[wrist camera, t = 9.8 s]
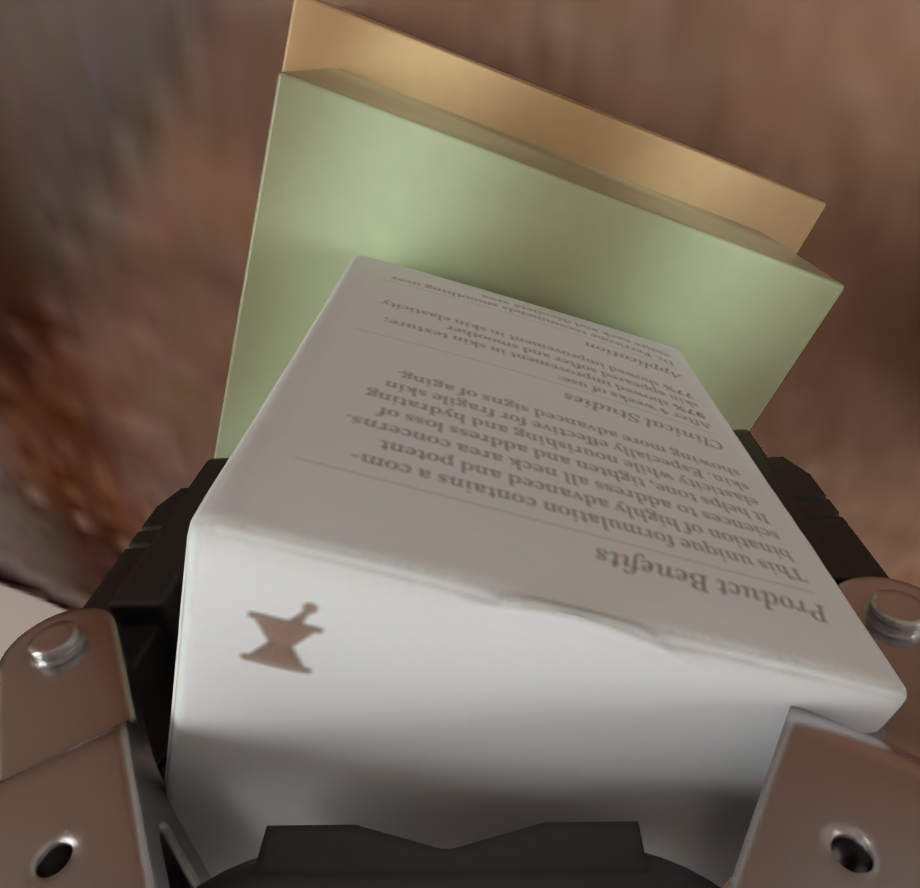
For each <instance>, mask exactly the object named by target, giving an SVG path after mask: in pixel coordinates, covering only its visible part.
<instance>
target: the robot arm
mask: <svg viewBox="0 0 920 888" xmlns="http://www.w3.org/2000/svg"><path fill="white" fill-rule="evenodd" d="M733 432H734V433H735V435H736V436H737V438H738V439H739V440H740V442H741V443H742V445H743V446H744V448H745V449H746V451H747V452H748V454H749V455H750V457H751V458H752V460H753V461H754V463H755V464H756V466H757V467H758V469H759V470H760V472H761V473H762V475H763V476H764V478H765V480H766V481H767V483H768V484H769V486H770V487H771V488H772V490H773V491H774V492H775V493H776V495H777V496H778V498H779V500H780V501H781V503H782V504H783V506H784V507H785V509H786V510H787V511H788V513H789V514H790V515H791V517H792V518H793V520H794V521H795V523H796V524H797V526H798V528H799V529H800V531H801V532H802V533H803V534H804V536H805V537H806V539H807V540H808V542H809V543H810V545H811V546H812V547H813V549H814V550H815V552H816V554H817V555H818V557H819V558H820V560H821V561H822V563H823V565H824V566H825V568H826V569H827V571H828V572H829V574H830V575H831V576H832V578H833V579H834V581H835V582H836V584H837V585H838V587H839V588H840V590H841V591H842V593H843V595H844V596H845V598H846V599H847V601H848V602H849V604H850V605H851V607H852V608H853V610H854V611H855V613H856V614H857V616H858V617H859V619H860V620H861V622H862V623H863V625H864V626H865V628H866V629H867V631H868V632H869V634H870V635H871V637H872V638H873V640H874V641H875V643H876V644H877V646H878V647H879V648H880V650H881V651H882V653H883V654H884V656H885V657H886V659H887V660H888V662H889V663H890V665H891V666H892V668H893V669H894V671H895V672H896V674H897V675H898V677H899V679H900V680H901V682H902V683H903V685H904V686H905V688H906V692H907V698H906V700H905V701H904V703H903V704H902V706H901V707H900V708H899V709H898V710H897V711H896V712H895V714H894V715H893V716H892V717H891V718H890V719H889V720H888V721H887V723H886V724H885V725H884V726H883V727H882V728H881V729H879V730H878V731H876V732H872V733H862V732H860V731H857V730H855V729H853V728H850V727H848V726H845V725H843V724H841V723H838V722H836V721H834V720H831V719H829V718H827V717H824V716H822V715H819V714H817V713H815V712H812V711H809V710H806V709H803V708H800V707H795V706H790V708H789V711H788V714H787V716H786V719H785V722H784V725H783V728H782V731H781V734H780V737H779V740H778V743H777V746H776V749H775V752H774V755H773V758H772V760H771V763H770V766H769V769H768V772H767V775H766V778H765V781H764V784H763V787H762V790H761V793H760V796H759V799H758V802H757V805H756V808H755V811H754V814H753V816H752V819H751V822H750V825H749V828H748V831H747V834H746V837H745V840H744V843H743V846H742V849H741V852H740V855H739V858H738V861H737V864H736V867H735V869H734V872H733V875H732V878H731V881H730V884H729V887H728V888H920V588H919V587H917V586H914V585H911V584H908V583H906V582H902V581H898V580H894V579H890V578H889V577H888V576H887V575H886V573H885V572H884V571H883V569H882V568H881V567H880V565H879V564H878V563H877V562H876V560H875V559H874V558H873V556H872V555H871V554H870V552H869V551H868V550H867V548H866V547H865V546H864V545H863V543H862V542H861V541H860V539H859V538H858V537H857V535H856V534H855V533H854V531H853V530H852V529H851V528H850V526H849V525H848V524H847V522H846V521H845V520H844V518H843V517H839V512H838V511H837V509H836V508H835V507H834V505H833V504H832V503H831V501H830V500H829V499H826V495H825V494H824V492H823V491H822V490H821V488H820V487H819V486H818V484H817V483H816V482H815V481H814V479H813V478H812V477H811V475H810V474H809V473H807V472H805V471H804V470H802V469H801V468H799V467H798V466H796V465H794V464H793V463H791V462H790V461H788V460H786V459H785V458H783V457H772V458H767V456H766V455H765V453H764V452H763V451H762V449H761V448H760V446H759V445H758V443H757V442H756V440H755V439H754V438H753V436H752V435H751V433H750V432H749V431H748V430H747V429H736V430H733ZM228 459H229V458H216V459H210V460H208V461H207V462H206V464H205V465H204V467H203V468H202V469H201V471H200V472H199V474H198V475H197V477H196V478H195V480H194V481H193V482H192V484H191V485H190V487H189V488H181V489H180V490H179V491H177V492H176V493H175V494H173V495H172V496H171V497H169V498H168V499H167V500H165V501H164V502H163V503H161V504H160V505H159V506H158V507H156V509H155V510H154V512H153V513H152V514H151V516H150V517H149V518H148V520H147V521H146V522H145V524H144V525H143V527H142V532H138V533H137V535H136V536H135V537H134V539H133V540H132V542H131V543H130V544H129V549H126V550H125V551H124V552H123V554H122V555H121V557H120V558H119V559H118V561H117V562H116V563H115V565H114V566H113V567H112V569H111V570H110V572H109V573H108V574H107V576H106V577H105V578H104V580H103V581H102V582H101V584H100V585H99V587H98V588H97V589H96V591H95V592H94V593H93V595H92V596H91V597H90V599H89V600H88V602H87V603H86V604H85V606H84V607H83V608H79V609H73V610H69V611H65V612H63V613H60V614H57V615H54V616H52V617H50V618H48V619H46V620H44V621H42V622H40V623H38V624H37V625H35V626H34V627H32V628H31V629H29V630H28V631H26V632H25V633H24V634H23V635H21V636H20V637H19V638H18V639H17V640H16V641H15V642H14V643H13V644H12V645H11V646H10V647H9V648H8V650H7V651H6V652H5V654H4V655H3V657H2V659H1V660H0V888H720V887H719V886H717V885H716V884H715V883H713V882H712V881H710V880H709V879H707V878H705V877H703V876H701V875H699V874H697V873H695V872H694V871H692V870H690V869H688V868H686V867H684V866H682V865H679V864H677V863H674V862H672V861H669V860H667V859H664V858H662V857H658V856H655V855H651V854H648V853H644V848H643V843H642V838H641V833H640V827H639V822H638V821H620V822H543V823H540V824H537V825H533V826H530V827H526V828H523V829H519V830H516V831H512V832H509V833H505V834H502V835H498V836H495V837H491V838H488V839H484V840H481V841H477V842H474V843H471V844H467V845H464V846H460V847H456V848H451V849H442V848H437V847H433V846H430V845H426V844H423V843H419V842H415V841H412V840H408V839H405V838H401V837H398V836H394V835H390V834H387V833H383V832H380V831H376V830H373V829H369V828H365V827H362V826H358V825H274V826H267V827H266V830H265V834H264V837H263V840H262V844H261V847H260V851H259V854H258V858H255V859H252V860H249V861H246V862H244V863H241V864H239V865H237V866H234V867H232V868H229V869H227V870H225V871H223V872H221V873H219V874H218V875H216V876H214V877H212V878H211V876H210V874H209V872H208V871H207V869H206V867H205V865H204V864H203V862H202V860H201V858H200V856H199V855H198V853H197V851H196V849H195V848H194V846H193V844H192V842H191V840H190V839H189V837H188V835H187V833H186V831H185V830H184V828H183V826H182V824H181V823H180V821H179V819H178V817H177V815H176V814H175V812H174V810H173V808H172V806H171V804H170V802H169V800H168V797H167V794H166V789H165V784H164V780H165V769H166V758H167V748H168V738H169V728H170V718H171V707H172V696H173V684H174V673H175V662H176V652H177V642H178V629H179V617H180V606H181V596H182V585H183V575H184V564H185V554H186V544H187V535H188V530H189V526H190V522H191V520H192V518H193V516H194V514H195V513H196V511H197V509H198V508H199V506H200V504H201V502H202V501H203V499H204V497H205V496H206V494H207V492H208V491H209V489H210V488H211V486H212V484H213V483H214V481H215V480H216V478H217V477H218V475H219V474H220V472H221V470H222V469H223V467H224V466H225V464H226V463H227V461H228Z"/></svg>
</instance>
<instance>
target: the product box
mask: <svg viewBox="0 0 920 888" xmlns="http://www.w3.org/2000/svg"><path fill="white" fill-rule="evenodd" d="M906 698H907V692H906V688H905V686H904V685H903V683H902V682H901V680H900V679H899V677H898V675H897V674H896V672H895V671H894V669H893V668H892V666H891V665H890V663H889V662H888V660H887V659H886V657H885V656H884V654H883V653H882V651H881V650H880V648H879V647H878V646H877V644H876V643H875V641H874V640H873V638H872V637H871V635H870V634H869V632H868V631H867V629H866V628H865V626H864V625H863V623H862V622H861V620H860V619H859V617H858V616H857V614H856V613H855V611H854V610H853V608H852V607H851V605H850V604H849V602H848V601H847V599H846V598H845V596H844V595H843V593H842V591H841V590H840V588H839V587H838V585H837V584H836V582H835V581H834V579H833V578H832V576H831V575H830V574H829V572H828V571H827V569H826V568H825V566H824V565H823V563H822V561H821V560H820V558H819V557H818V555H817V554H816V552H815V550H814V549H813V547H812V546H811V545H810V543H809V542H808V540H807V539H806V537H805V536H804V534H803V533H802V532H801V531H800V529H799V528H798V526H797V524H796V523H795V521H794V520H793V518H792V517H791V515H790V514H789V513H788V511H787V510H786V509H785V507H784V506H783V504H782V503H781V501H780V500H779V498H778V496H777V495H776V493H775V492H774V491H773V490H772V488H771V487H770V486H769V484H768V483H767V481H766V480H765V478H764V476H763V475H762V473H761V472H760V470H759V469H758V467H757V466H756V464H755V463H754V461H753V460H752V458H751V457H750V455H749V454H748V452H747V451H746V449H745V448H744V446H743V445H742V443H741V442H740V440H739V439H738V438H737V436H736V435H735V433H734V432H733V430H732V429H731V427H730V425H729V424H728V422H727V421H726V419H725V418H724V417H723V415H722V414H721V412H720V411H719V409H718V408H717V406H716V405H715V403H714V402H713V400H712V399H711V397H710V396H709V394H708V393H707V391H706V390H705V388H704V387H703V385H702V384H701V382H700V381H699V379H698V377H697V376H696V374H695V373H694V372H693V370H692V369H691V367H690V366H689V364H688V362H687V361H686V359H685V357H684V356H683V354H682V352H681V351H680V350H678V349H677V348H674V347H671V346H668V345H665V344H661V343H658V342H655V341H652V340H648V339H645V338H642V337H639V336H635V335H632V334H629V333H626V332H623V331H620V330H617V329H613V328H610V327H607V326H603V325H600V324H597V323H594V322H590V321H587V320H584V319H581V318H577V317H574V316H571V315H567V314H564V313H561V312H557V311H554V310H551V309H547V308H544V307H541V306H537V305H534V304H530V303H527V302H524V301H520V300H517V299H514V298H510V297H507V296H504V295H500V294H497V293H493V292H490V291H487V290H483V289H480V288H476V287H473V286H469V285H466V284H462V283H459V282H455V281H452V280H448V279H445V278H442V277H438V276H435V275H431V274H428V273H425V272H421V271H418V270H415V269H411V268H407V267H403V266H399V265H396V264H392V263H389V262H385V261H382V260H378V259H375V258H371V257H367V256H363V255H358V256H356V257H355V258H354V259H353V260H352V261H351V262H350V264H349V266H348V268H347V269H346V271H345V272H344V274H343V275H342V277H341V278H340V280H339V282H338V283H337V285H336V286H335V288H334V290H333V291H332V293H331V295H330V297H329V298H328V300H327V301H326V303H325V305H324V307H323V308H322V310H321V312H320V313H319V315H318V316H317V318H316V320H315V321H314V323H313V325H312V326H311V328H310V329H309V331H308V333H307V334H306V336H305V338H304V339H303V341H302V343H301V344H300V346H299V348H298V349H297V351H296V353H295V354H294V356H293V358H292V359H291V361H290V363H289V364H288V366H287V367H286V369H285V370H284V372H283V373H282V375H281V377H280V378H279V380H278V381H277V383H276V384H275V386H274V388H273V389H272V391H271V393H270V394H269V396H268V398H267V399H266V401H265V402H264V404H263V405H262V407H261V409H260V410H259V412H258V414H257V416H256V417H255V419H254V420H253V422H252V423H251V425H250V426H249V428H248V429H247V431H246V432H245V434H244V436H243V437H242V439H241V440H240V442H239V443H238V445H237V447H236V448H235V450H234V451H233V453H232V455H231V456H230V458H229V459H228V461H227V463H226V464H225V466H224V467H223V469H222V470H221V472H220V474H219V475H218V477H217V478H216V480H215V481H214V483H213V484H212V486H211V488H210V489H209V491H208V492H207V494H206V496H205V497H204V499H203V501H202V502H201V504H200V506H199V508H198V509H197V511H196V513H195V514H194V516H193V518H192V520H191V522H190V526H189V530H188V535H187V544H186V554H185V564H184V575H183V585H182V596H181V606H180V617H179V629H178V642H177V652H176V662H175V673H174V684H173V696H172V707H171V718H170V728H169V738H168V748H167V758H166V769H165V780H164V784H165V789H166V794H167V797H168V800H169V802H170V804H171V806H172V808H173V810H174V812H175V814H176V815H177V817H178V819H179V821H180V823H181V824H182V826H183V828H184V830H185V831H186V833H187V835H188V837H189V839H190V840H191V842H192V844H193V846H194V848H195V849H196V851H197V853H198V855H199V856H200V858H201V860H202V862H203V864H204V865H205V867H206V869H207V871H208V872H209V874H210V876H211V878H212V877H214V876H216V875H218V874H219V873H221V872H223V871H225V870H227V869H229V868H232V867H234V866H237V865H239V864H241V863H244V862H246V861H249V860H252V859H255V858H258V854H259V851H260V847H261V844H262V840H263V837H264V834H265V830H266V827H267V826H274V825H358V826H362V827H365V828H369V829H373V830H376V831H380V832H383V833H387V834H390V835H394V836H398V837H401V838H405V839H408V840H412V841H415V842H419V843H423V844H426V845H430V846H433V847H437V848H442V849H451V848H456V847H460V846H464V845H467V844H471V843H474V842H477V841H481V840H484V839H488V838H491V837H495V836H498V835H502V834H505V833H509V832H512V831H516V830H519V829H523V828H526V827H530V826H533V825H537V824H540V823H543V822H620V821H638V822H639V827H640V833H641V838H642V843H643V848H644V853H648V854H651V855H655V856H658V857H662V858H664V859H667V860H669V861H672V862H674V863H677V864H679V865H682V866H684V867H686V868H688V869H690V870H692V871H694V872H695V873H697V874H699V875H701V876H703V877H705V878H707V879H709V880H710V881H712V882H713V883H715V884H716V885H717V886H719V887H720V888H721V887H722V886H723V885H724V884H725V883H726V882H727V880H728V879H729V878H730V877H732V875H733V872H734V869H735V867H736V864H737V861H738V858H739V855H740V852H741V849H742V846H743V843H744V840H745V837H746V834H747V831H748V828H749V825H750V822H751V819H752V816H753V814H754V811H755V808H756V805H757V802H758V799H759V796H760V793H761V790H762V787H763V784H764V781H765V778H766V775H767V772H768V769H769V766H770V763H771V760H772V758H773V755H774V752H775V749H776V746H777V743H778V740H779V737H780V734H781V731H782V728H783V725H784V722H785V719H786V716H787V714H788V711H789V708H790V706H795V707H800V708H803V709H806V710H809V711H812V712H815V713H817V714H819V715H822V716H824V717H827V718H829V719H831V720H834V721H836V722H838V723H841V724H843V725H845V726H848V727H850V728H853V729H855V730H857V731H860V732H862V733H872V732H876V731H878V730H879V729H881V728H882V727H883V726H884V725H885V724H886V723H887V721H888V720H889V719H890V718H891V717H892V716H893V715H894V714H895V712H896V711H897V710H898V709H899V708H900V707H901V706H902V704H903V703H904V701H905V700H906Z"/></svg>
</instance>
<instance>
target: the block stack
mask: <svg viewBox="0 0 920 888" xmlns="http://www.w3.org/2000/svg"><path fill="white" fill-rule="evenodd" d="M825 206H826V204H825V203H824V202H823V201H821V200H818V199H816V198H814V197H811V196H809V195H807V194H804V193H802V192H800V191H798V190H795V189H793V188H791V187H788V186H786V185H784V184H781V183H779V182H777V181H775V180H772V179H770V178H768V177H765V176H763V175H761V174H758V173H756V172H753V171H751V170H748V169H746V168H743V167H741V166H738V165H736V164H733V163H731V162H728V161H726V160H723V159H720V158H718V157H715V156H713V155H710V154H708V153H705V152H703V151H700V150H698V149H695V148H693V147H690V146H688V145H685V144H683V143H680V142H678V141H675V140H673V139H670V138H668V137H665V136H663V135H660V134H658V133H655V132H653V131H650V130H648V129H645V128H643V127H640V126H638V125H635V124H633V123H630V122H628V121H625V120H623V119H620V118H618V117H615V116H613V115H610V114H608V113H605V112H603V111H600V110H598V109H595V108H593V107H590V106H587V105H585V104H582V103H580V102H577V101H575V100H572V99H570V98H567V97H565V96H562V95H560V94H557V93H555V92H552V91H550V90H547V89H545V88H542V87H540V86H537V85H535V84H532V83H530V82H527V81H525V80H522V79H520V78H517V77H515V76H512V75H510V74H507V73H505V72H502V71H500V70H497V69H495V68H492V67H490V66H487V65H485V64H482V63H480V62H477V61H475V60H472V59H470V58H467V57H465V56H462V55H460V54H457V53H454V52H452V51H449V50H447V49H444V48H442V47H439V46H437V45H434V44H432V43H429V42H427V41H424V40H422V39H419V38H417V37H414V36H412V35H409V34H407V33H404V32H402V31H399V30H397V29H394V28H392V27H389V26H387V25H384V24H382V23H379V22H377V21H374V20H372V19H369V18H367V17H364V16H362V15H359V14H357V13H354V12H352V11H349V10H347V9H344V8H342V7H339V6H336V5H333V4H330V3H327V2H324V1H321V0H294V1H293V6H292V12H291V18H290V24H289V30H288V36H287V42H286V48H285V54H284V59H283V65H282V71H281V72H280V73H279V75H278V78H277V84H276V90H275V96H274V102H273V108H272V114H271V120H270V126H269V132H268V138H267V144H266V150H265V156H264V162H263V168H262V174H261V180H260V186H259V192H258V198H257V203H256V209H255V215H254V221H253V227H252V233H251V239H250V245H249V251H248V257H247V263H246V269H245V275H244V281H243V287H242V293H241V299H240V305H239V311H238V317H237V323H236V329H235V335H234V341H233V347H232V353H231V358H230V364H229V370H228V376H227V382H226V388H225V394H224V400H223V406H222V412H221V418H220V424H219V430H218V436H217V442H216V448H215V454H214V459H216V458H230V456H231V455H232V453H233V451H234V450H235V448H236V447H237V445H238V443H239V442H240V440H241V439H242V437H243V436H244V434H245V432H246V431H247V429H248V428H249V426H250V425H251V423H252V422H253V420H254V419H255V417H256V416H257V414H258V412H259V410H260V409H261V407H262V405H263V404H264V402H265V401H266V399H267V398H268V396H269V394H270V393H271V391H272V389H273V388H274V386H275V384H276V383H277V381H278V380H279V378H280V377H281V375H282V373H283V372H284V370H285V369H286V367H287V366H288V364H289V363H290V361H291V359H292V358H293V356H294V354H295V353H296V351H297V349H298V348H299V346H300V344H301V343H302V341H303V339H304V338H305V336H306V334H307V333H308V331H309V329H310V328H311V326H312V325H313V323H314V321H315V320H316V318H317V316H318V315H319V313H320V312H321V310H322V308H323V307H324V305H325V303H326V301H327V300H328V298H329V297H330V295H331V293H332V291H333V290H334V288H335V286H336V285H337V283H338V282H339V280H340V278H341V277H342V275H343V274H344V272H345V271H346V269H347V268H348V266H349V264H350V262H351V261H352V260H353V259H354V258H355V257H356V256H358V255H363V256H367V257H371V258H375V259H378V260H382V261H385V262H389V263H392V264H396V265H399V266H403V267H407V268H411V269H415V270H418V271H421V272H425V273H428V274H431V275H435V276H438V277H442V278H445V279H448V280H452V281H455V282H459V283H462V284H466V285H469V286H473V287H476V288H480V289H483V290H487V291H490V292H493V293H497V294H500V295H504V296H507V297H510V298H514V299H517V300H520V301H524V302H527V303H530V304H534V305H537V306H541V307H544V308H547V309H551V310H554V311H557V312H561V313H564V314H567V315H571V316H574V317H577V318H581V319H584V320H587V321H590V322H594V323H597V324H600V325H603V326H607V327H610V328H613V329H617V330H620V331H623V332H626V333H629V334H632V335H635V336H639V337H642V338H645V339H648V340H652V341H655V342H658V343H661V344H665V345H668V346H671V347H674V348H677V349H678V350H680V351H681V352H682V354H683V356H684V357H685V359H686V361H687V362H688V364H689V366H690V367H691V369H692V370H693V372H694V373H695V374H696V376H697V377H698V379H699V381H700V382H701V384H702V385H703V387H704V388H705V390H706V391H707V393H708V394H709V396H710V397H711V399H712V400H713V402H714V403H715V405H716V406H717V408H718V409H719V411H720V412H721V414H722V415H723V417H724V418H725V419H726V421H727V422H728V424H729V425H730V427H731V429H732V430H736V429H747V430H748V431H749V430H750V429H751V427H752V426H753V424H754V423H755V421H756V420H757V418H758V417H759V415H760V414H761V412H762V411H763V409H764V408H765V406H766V405H767V403H768V402H769V400H770V399H771V397H772V396H773V394H774V393H775V391H776V390H777V388H778V387H779V385H780V384H781V382H782V381H783V379H784V378H785V376H786V375H787V373H788V372H789V370H790V369H791V367H792V366H793V364H794V363H795V361H796V360H797V358H798V357H799V355H800V354H801V352H802V351H803V349H804V348H805V346H806V345H807V343H808V342H809V340H810V339H811V337H812V336H813V334H814V333H815V331H816V330H817V328H818V327H819V325H820V324H821V322H822V321H823V319H824V318H825V316H826V315H827V313H828V312H829V310H830V309H831V307H832V306H833V304H834V303H835V301H836V300H837V298H838V297H839V295H840V294H841V292H842V291H843V289H844V286H843V285H842V284H841V283H840V282H838V281H837V280H835V279H834V278H832V277H831V276H829V275H827V274H826V273H824V272H823V271H821V270H820V269H818V268H817V267H815V266H813V265H812V264H810V263H809V262H807V261H806V260H804V259H803V258H801V257H799V256H798V255H796V254H797V252H798V251H799V249H800V247H801V246H802V244H803V242H804V241H805V239H806V237H807V236H808V234H809V233H810V231H811V229H812V228H813V226H814V224H815V223H816V221H817V219H818V218H819V216H820V215H821V213H822V211H823V210H824V208H825Z"/></svg>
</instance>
